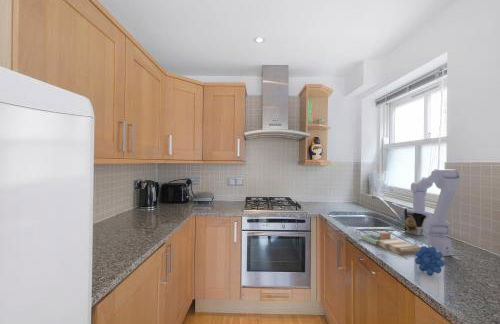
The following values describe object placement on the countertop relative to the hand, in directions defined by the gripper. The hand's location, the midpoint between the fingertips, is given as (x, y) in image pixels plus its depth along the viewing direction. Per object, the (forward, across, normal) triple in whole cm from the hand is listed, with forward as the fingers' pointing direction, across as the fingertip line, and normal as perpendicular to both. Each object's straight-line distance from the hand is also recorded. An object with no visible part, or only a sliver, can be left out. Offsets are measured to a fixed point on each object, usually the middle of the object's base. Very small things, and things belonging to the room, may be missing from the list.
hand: (419, 226), depth 144 cm
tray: (+9, +9, +21) cm, 25 cm away
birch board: (+9, -6, +21) cm, 24 cm away
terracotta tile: (+6, +5, +18) cm, 20 cm away
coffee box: (+10, +18, -16) cm, 26 cm away
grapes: (+10, -35, +34) cm, 50 cm away
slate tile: (+6, +10, +19) cm, 23 cm away
